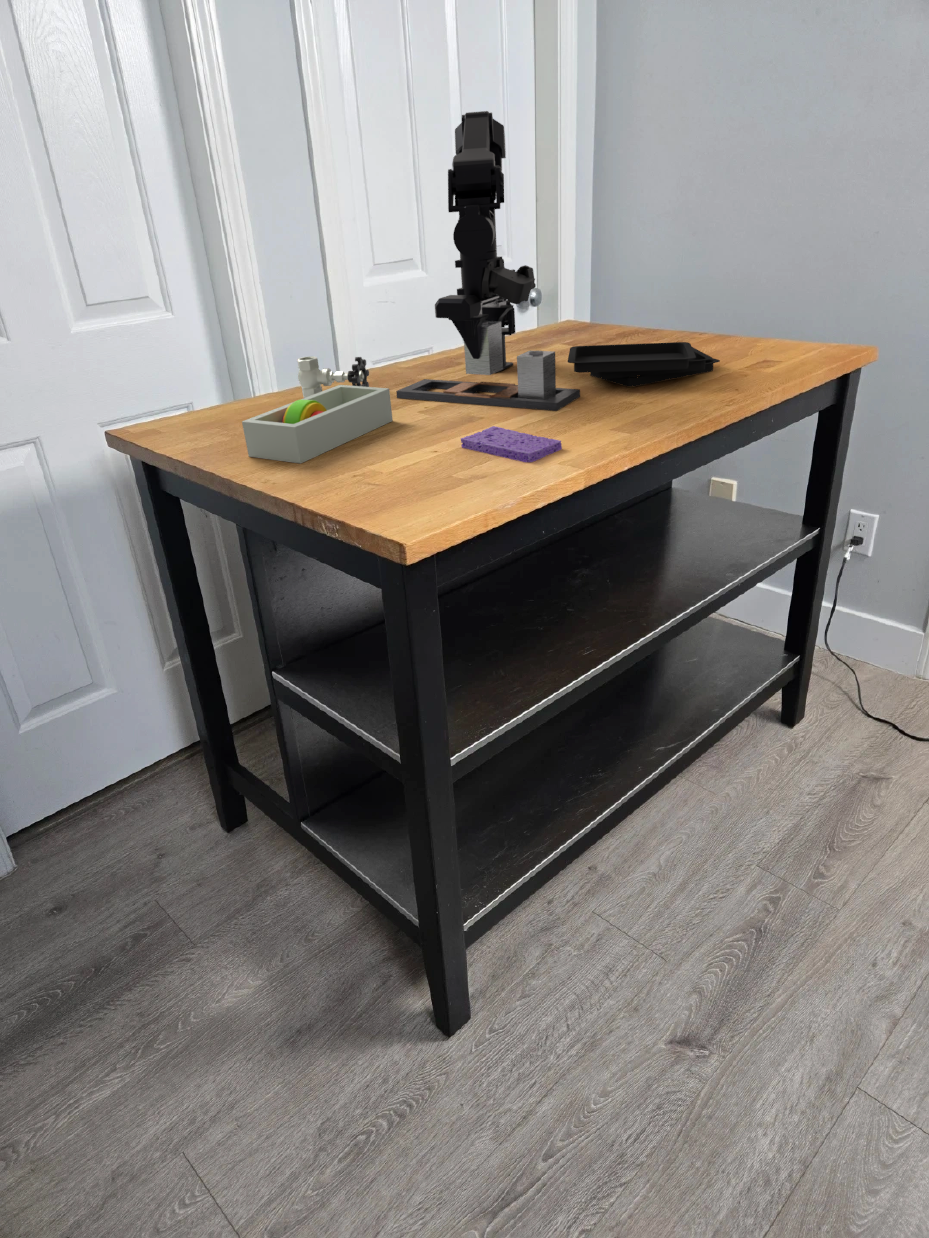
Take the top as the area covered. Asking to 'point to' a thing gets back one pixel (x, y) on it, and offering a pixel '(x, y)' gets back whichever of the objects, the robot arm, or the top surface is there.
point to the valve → (328, 375)
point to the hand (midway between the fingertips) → (483, 355)
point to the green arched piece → (302, 411)
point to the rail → (467, 390)
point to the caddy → (318, 424)
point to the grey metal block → (536, 375)
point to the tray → (640, 362)
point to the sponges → (511, 444)
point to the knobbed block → (487, 351)
